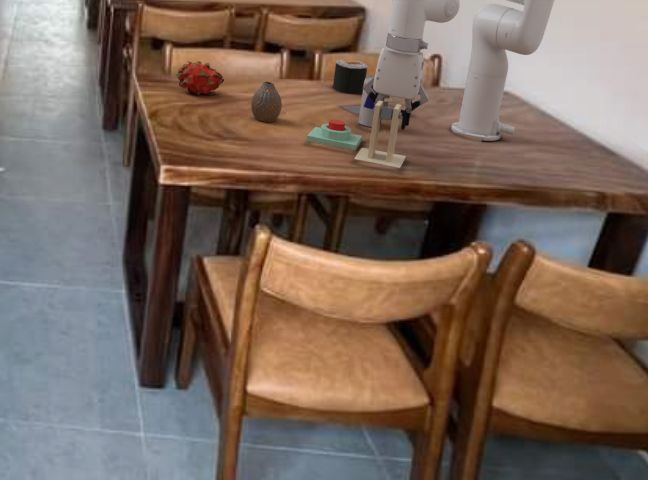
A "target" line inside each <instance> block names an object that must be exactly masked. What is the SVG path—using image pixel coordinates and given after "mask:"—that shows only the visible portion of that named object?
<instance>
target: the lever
mask: <svg viewBox="0 0 648 480" xmlns="http://www.w3.org/2000/svg"><path fill="white" fill-rule="evenodd" d="M391 107H392V106H391ZM391 107H386V106H383V107H382V112H381V117H380V118H382V120H383V119H384V120H388V121H392V117H393V111H394V108H395V107H393V108H391ZM404 111H405V109H401V113H402V115H401V116H403V112H404Z"/></svg>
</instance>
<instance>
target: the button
mask: <svg viewBox="0 0 648 480" xmlns="http://www.w3.org/2000/svg"><path fill="white" fill-rule="evenodd" d="M328 123H329V125H328V128H329V129H331V130H336V131H344V128H345V126H346V122H345V121H344V120H341V119H329V120H328Z"/></svg>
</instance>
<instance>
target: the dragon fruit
mask: <svg viewBox="0 0 648 480" xmlns="http://www.w3.org/2000/svg"><path fill="white" fill-rule="evenodd" d="M210 65H211V64H210V63H209V62H206V63H202V61H200V60H199V61H198V60H196V61H195V62H193V61H191V60H190V61H189V60H188V61H187V63H183V65H182V66H181V67H180V68H178V71H177V74H176V77H177V80H178V81H179V82H178V86H179V87H180V88H183V89H186V88H187V92H188V94H192V93H195V94H196V95H201V94H205V95H208V96H213V95H214V94H216V92H215V91H216V90H217V89H219V87H220V85H222V84H223V83H224V82H225V78H224V76H223V75H222V73H220V72H219V71H217V69H215V68H212V67H211V66H210Z"/></svg>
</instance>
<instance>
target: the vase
mask: <svg viewBox="0 0 648 480" xmlns="http://www.w3.org/2000/svg"><path fill="white" fill-rule="evenodd" d="M282 103H283V102H282V98H281V95H280V93H279V92H278V90H277V88H276V86H275V83H274V82H272V81H263V82H262V84H261V85H260V87H259V88H258V89H257V90H255V92H254V93H253V96H252V99H251V103H250V105H251V112H252V113H251V114H252V116H253V117H254V118H255V119H256V120H257V121H258V122H262V123H273V122H275V121H276V120H277V119H278V118H279V116H280V114H281V111H282V105H283V104H282Z"/></svg>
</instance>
